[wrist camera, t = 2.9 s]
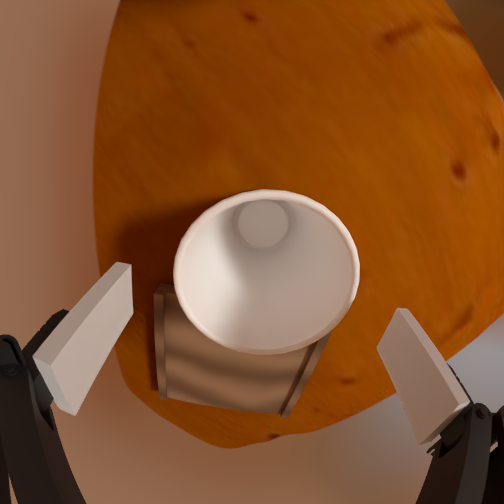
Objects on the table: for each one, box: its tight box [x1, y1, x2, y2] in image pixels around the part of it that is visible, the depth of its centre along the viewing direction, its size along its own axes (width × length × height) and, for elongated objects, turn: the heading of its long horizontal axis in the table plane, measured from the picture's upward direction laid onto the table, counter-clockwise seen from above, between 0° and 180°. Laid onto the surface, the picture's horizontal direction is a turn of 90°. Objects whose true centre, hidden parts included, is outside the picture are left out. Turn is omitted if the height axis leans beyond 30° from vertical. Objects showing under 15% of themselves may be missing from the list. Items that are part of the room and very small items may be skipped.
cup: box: [173, 189, 360, 355], centre depth 19 cm, size 10×10×11 cm
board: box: [154, 282, 332, 418], centre depth 30 cm, size 18×18×2 cm
